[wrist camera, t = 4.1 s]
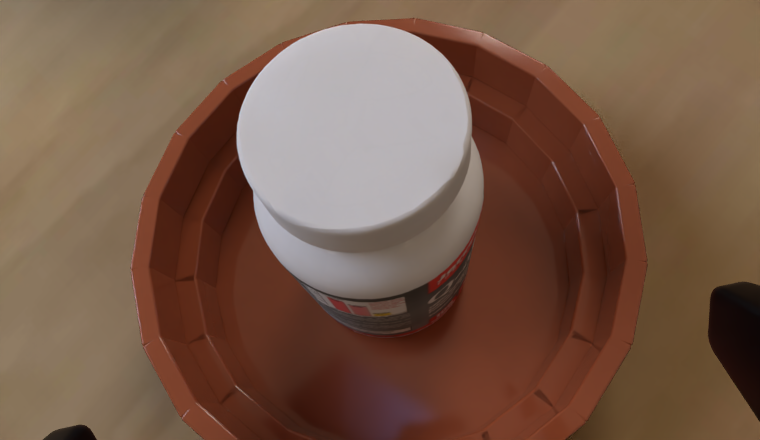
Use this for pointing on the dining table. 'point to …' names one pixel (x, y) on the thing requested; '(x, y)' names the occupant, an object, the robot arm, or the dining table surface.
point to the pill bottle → (365, 174)
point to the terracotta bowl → (432, 344)
